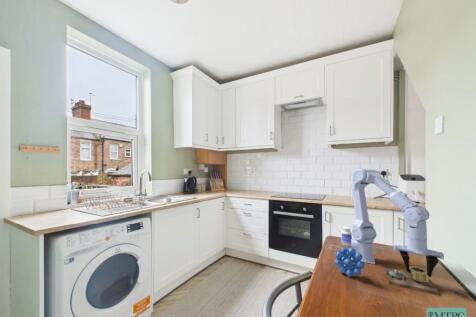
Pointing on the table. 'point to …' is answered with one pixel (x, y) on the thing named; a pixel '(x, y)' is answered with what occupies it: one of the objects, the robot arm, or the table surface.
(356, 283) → the table surface
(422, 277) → the gear
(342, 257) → the grapes
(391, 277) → the gear board
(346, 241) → the pill bottle
